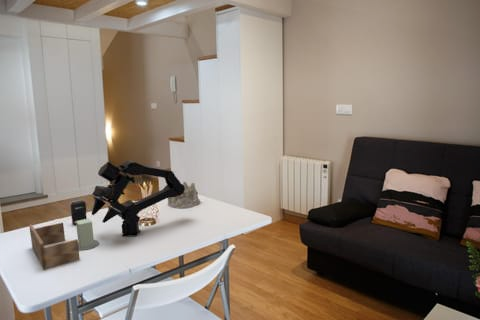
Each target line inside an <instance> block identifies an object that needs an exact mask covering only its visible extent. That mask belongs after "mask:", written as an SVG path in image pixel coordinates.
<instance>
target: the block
mask: <svg viewBox="0 0 480 320" xmlns="http://www.w3.org/2000/svg"><path fill="white" fill-rule="evenodd" d="M75 227H76V235H77V240H78V244H79V245H80V246H81V248H83V247H87V246H90V245H94V240H95V237H94V231H93V229H94V228H93V222H92V220H91V219H90V218H87V219H84V220H80V221H76V225H75Z"/></svg>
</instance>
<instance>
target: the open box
mask: <svg viewBox="0 0 480 320" xmlns="http://www.w3.org/2000/svg"><path fill="white" fill-rule="evenodd" d="M28 228H29V232H30V233H29V234H30V241H31V248H32V250H33V252H34V254H35V255H36V257H37V260H38V262H39V264H40V265H41V268H42V270H47V269H51V268H55V267H58V266H61V265H62V266H63V265H65V264H69V263H73V262H76V261H79V260H80V259H81V257H80V250H79V248H78V238H77V239H73V240H68V241H66V235H65V228H64V222H58V223H54V224H53V223H52V224H49V225H44V226H41V227H35V226H34V225H33V224H29V227H28Z"/></svg>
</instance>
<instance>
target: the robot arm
mask: <svg viewBox="0 0 480 320" xmlns="http://www.w3.org/2000/svg"><path fill="white" fill-rule="evenodd" d="M97 174H98V176H100V177H101V178H103V179H105V180H106V181H108V182H110V183H111V182H112V184H110V183H109V184H108V185H107V186H101V185H96V186H95V187H94V191H93V192H92V197H93V200H94V204H93V206H92V210H91V215H92V216H94V215H96V214H97V213H98V212H99V211H100V210H101V209H102V208H103V207H104V206H105V205H106V204H107V203H108V204H109V205H108V206H107V207H108V208H107V212H106V214H105V216H104V217H103V219H102V223H103V224H104V223H105V224H106V223H107V222H109V221H110V220H112V219H113V218H114V217H116V216H118V217H120V218H121V220H123V221H122V222H121V223H122V224H121V233H122V235H121V236H122V237H137V236H138V235H139V234H140V232H141V229H140V224H139V222H140V218H141V216H139V215H138V214H139V213H140V212H141V211H143V210H146V209H147V208H150V207H151V206H154V205H155V204H158V203H159V202H162V201H163V200H166V199H168V198H170V197H176V196H180V195H182V194H183V193H184V190H185V187H184V185H183V183H181V181H180V179H178V177H177V176H176V174H175V173H174V172H173V171H172V170H170V169H165V168H159V167H158V168H157V167H152V166H147V165H143V164H140V163H138V162H135V161H132V160H126V161H125V162H124V163H123V164H120V165H118V166H116V165H113V164H112V162H110V161H106V162H105V163H104V164H103V165H102V166H100V168H99V170H98V173H97ZM129 175H130V176H129ZM143 175H146V176H152V177H156V178H157V177H159V178H164V181H165V183H166V185H165V186H164V188H162V189H161V190H158V191H156V192H154V193H152V194H150V195H148V196H145V197H142V199H138V200H137V201H132V200H130V199H128V200H126V201H125V202H120V198H121V196H125V194H126V193H125V190H126V188H127V186H128V185H129V184H130V182H131V183H132V184H135V183H136V181H135V176H143Z"/></svg>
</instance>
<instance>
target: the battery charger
mask: <svg viewBox="0 0 480 320" xmlns="http://www.w3.org/2000/svg"><path fill="white" fill-rule="evenodd" d="M69 210H70V211H69V212H70V216H71V217H70V218H71V224H72V225H74V226H76V221H80V220H84V219H88V218H87V204H86V201H85V200H84V199H79V200H73V201H71V202H70V203H69Z"/></svg>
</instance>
